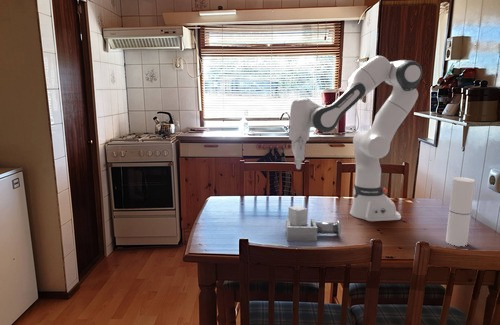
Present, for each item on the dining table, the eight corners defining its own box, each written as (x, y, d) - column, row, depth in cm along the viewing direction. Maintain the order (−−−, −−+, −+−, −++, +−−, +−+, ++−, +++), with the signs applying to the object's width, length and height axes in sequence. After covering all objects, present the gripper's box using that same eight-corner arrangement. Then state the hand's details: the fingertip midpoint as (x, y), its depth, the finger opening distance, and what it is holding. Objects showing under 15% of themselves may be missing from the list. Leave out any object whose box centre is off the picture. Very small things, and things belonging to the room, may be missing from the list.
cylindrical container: (447, 244, 138) (454, 180, 133) (444, 237, 145) (451, 176, 140) (468, 247, 136) (476, 182, 131) (465, 240, 142) (472, 178, 137)
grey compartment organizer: (336, 231, 151) (337, 216, 150) (341, 241, 141) (342, 225, 140) (285, 230, 152) (285, 216, 150) (287, 240, 142) (287, 225, 140)
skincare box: (298, 220, 164) (299, 204, 162) (307, 224, 159) (307, 208, 157) (287, 222, 161) (288, 206, 159) (296, 227, 156) (296, 210, 154)
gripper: (309, 139, 150) (307, 172, 153) (303, 133, 170) (302, 162, 173) (293, 138, 150) (292, 171, 153) (290, 132, 170) (288, 162, 173)
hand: (297, 166), depth 163 cm, fingers open, 8 cm apart
